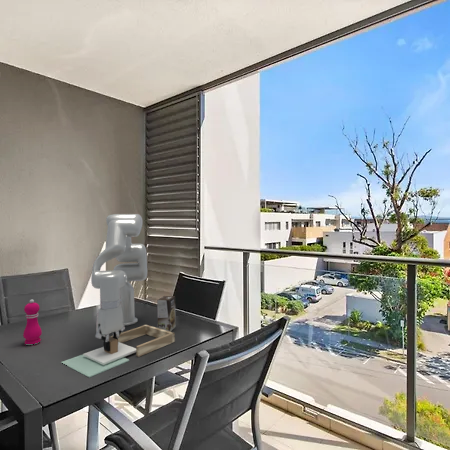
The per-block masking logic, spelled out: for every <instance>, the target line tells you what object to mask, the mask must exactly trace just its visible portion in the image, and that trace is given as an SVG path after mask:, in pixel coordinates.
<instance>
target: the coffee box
mask: <svg viewBox="0 0 450 450" xmlns="http://www.w3.org/2000/svg"><path fill="white" fill-rule="evenodd" d="M156 306H157V307H156V309H157V328H159V329H163V330H166V331H169V332H173V330H174V329H176V296H175V295H163V296H162V297H159V299H157V305H156Z"/></svg>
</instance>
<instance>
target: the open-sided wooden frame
mask: <svg viewBox="0 0 450 450" xmlns="http://www.w3.org/2000/svg"><path fill="white" fill-rule="evenodd" d="M144 335H146V336H149V337H153V338H154V339H151V340H149V341H147V342H144V343H141V344H139V345H136V347H135V348H136V352H135V353H136V357H138V358H140V357H142V356H144V355H147V354H149V353H151V352H154V351H156V350H158V349H161V348H164V347H165V346H169V345H171V344H172V343H175V342H176V337H175V336H176V335H175V332H173V331H171V332H169V331H166V330H163V329H159V328H158V327H155V326H153V325H152V326H151V325H148V324H143V325H141V326H139V327H136V328H135V327H134V328H131V329H130V330H126V331H122V332H121V334H120V335H119V338H118V342H120V343H123V344H124V343H126V342H128V341H130V340H133V339H136V338H139V337H142V336H144ZM109 337H113V335H111V336H110V335H109Z"/></svg>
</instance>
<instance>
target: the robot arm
mask: <svg viewBox="0 0 450 450" xmlns="http://www.w3.org/2000/svg"><path fill="white" fill-rule="evenodd" d="M105 221H106V226H107V233H106V240H105V241H106V242H105V249H104V250H102V251H101V252H100V253H99V255H98V256H97V257H96V259H95V260H94V262H93V265H92V268H91V269H92V270H91V278H90V279H91V280H90V281H91V282H90V283H91V286H92V288H94V289H98V290H99V308H98V310H97V314H96V315H97V316H96V323H95V324H96V325H95V326H96V327H95V328H96V329H95V330H96V333H95V335H94V337H95V338H96V339H99V340H102V341H103V347H104V350H105V351H108V352H109V351H110V341H109V337H110V334H112V336H113V337H112V338H115V339H117V340H118V338H119V335H120V334H121V333H122V332H124V330H126V327H125V326H132V325H134V324H136V323H137V322H138V319H139V318H137V317H135V315H136V314H135V288H134V287H133V285H132V284H131V282H143V281H145V280H147V277H148V257H147V256H148V254H147V248H146V246H145V244H143V243H132V237H133V238H134V237H135V238H136V237H139V235H140V233H141V231H142V228H143V223H144V222H143V218H142V216H141V214H139V213H113V214H108V216H107V217H106V219H105ZM114 258H115V260H116V261H118V262H121V263H119V264H117V265H115V266H114V267H113V270H101V268H102V267H103V265H104V264H105V263H107V262H109V261H110V260H112V259H114ZM134 262H135V263H134Z"/></svg>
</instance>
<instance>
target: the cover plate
mask: <svg viewBox="0 0 450 450" xmlns="http://www.w3.org/2000/svg"><path fill="white" fill-rule="evenodd" d="M109 341H110V351H109V352H108V351H105V350H104V346H102V347H99V348H96V349H93V350H90V351H88V352H85V353H82V354H83V356H85V357H87V358H89V359H91V360H93V361H96V362H98V363H100V364H102V365H105V364H107V363H110V362H112V361H115V360H117V359H120V358H122V357H124V358H126V357H127V356H130V355H132V354H135V353H136V347H133V346H130V345H127V344H125V343H124V342H123V343H120V342H118V340H117V339H115V338H112V337H110V336H109Z"/></svg>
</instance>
